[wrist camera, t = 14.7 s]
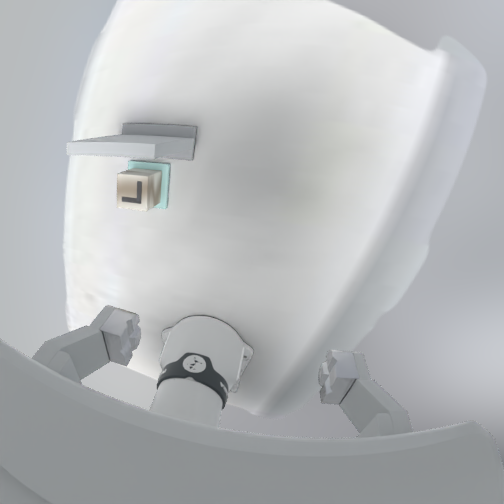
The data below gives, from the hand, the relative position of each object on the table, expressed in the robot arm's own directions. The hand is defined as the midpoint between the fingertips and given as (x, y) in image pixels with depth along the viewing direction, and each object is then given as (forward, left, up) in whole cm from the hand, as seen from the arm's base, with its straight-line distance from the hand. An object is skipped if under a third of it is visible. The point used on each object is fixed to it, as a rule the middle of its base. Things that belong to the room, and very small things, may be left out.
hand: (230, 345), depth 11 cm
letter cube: (-2, +18, -30) cm, 35 cm away
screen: (+5, +17, -31) cm, 36 cm away
